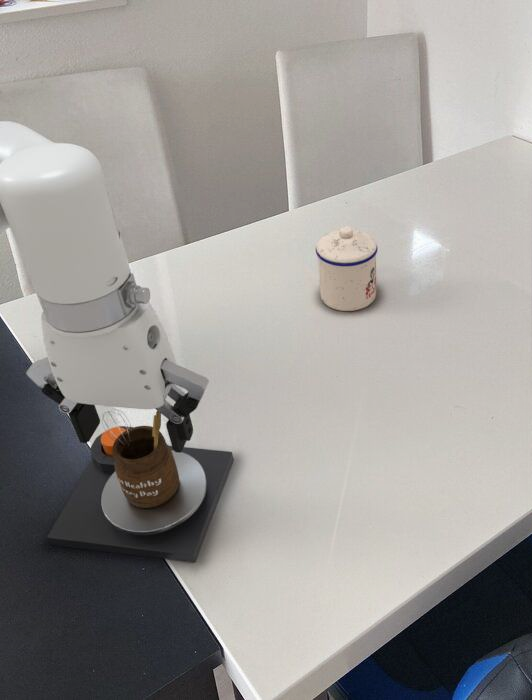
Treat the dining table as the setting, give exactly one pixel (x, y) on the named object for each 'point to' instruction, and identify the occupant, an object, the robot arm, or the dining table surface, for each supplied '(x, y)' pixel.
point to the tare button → (109, 442)
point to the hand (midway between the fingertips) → (136, 437)
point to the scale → (99, 534)
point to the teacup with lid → (347, 269)
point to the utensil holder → (144, 464)
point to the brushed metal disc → (162, 515)
